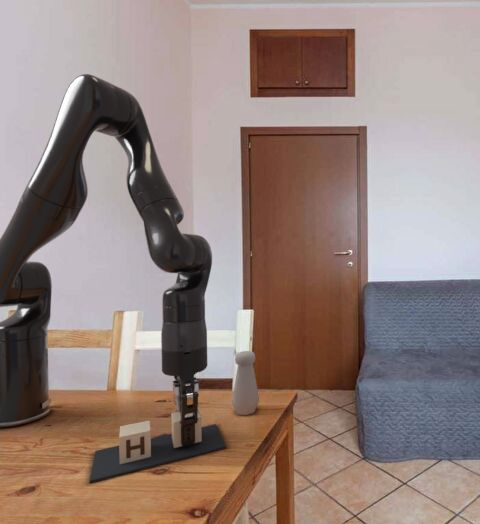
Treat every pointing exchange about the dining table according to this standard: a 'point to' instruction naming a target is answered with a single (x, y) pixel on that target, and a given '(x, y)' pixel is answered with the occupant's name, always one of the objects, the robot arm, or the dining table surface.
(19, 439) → the dining table surface
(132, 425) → the beige rounded cube
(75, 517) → the dining table surface
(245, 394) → the salt shaker
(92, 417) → the dining table surface
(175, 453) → the word mat
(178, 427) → the beige cube block
